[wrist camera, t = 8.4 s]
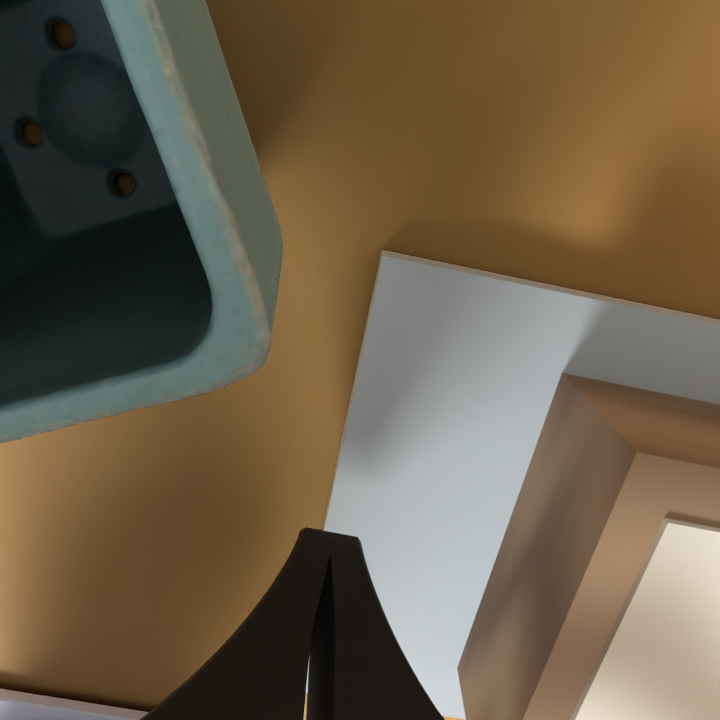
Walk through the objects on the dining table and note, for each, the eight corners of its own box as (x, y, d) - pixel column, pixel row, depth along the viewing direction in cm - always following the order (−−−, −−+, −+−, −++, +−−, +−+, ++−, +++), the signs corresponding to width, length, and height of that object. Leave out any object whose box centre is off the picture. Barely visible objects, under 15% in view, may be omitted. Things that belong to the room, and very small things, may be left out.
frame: (611, 694, 17) (683, 851, 13) (456, 668, 17) (483, 820, 13) (751, 411, 14) (903, 507, 10) (561, 372, 13) (640, 456, 10)
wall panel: (690, 729, 19) (771, 869, 15) (294, 663, 18) (273, 794, 14) (903, 357, 14) (1096, 425, 10) (382, 249, 14) (386, 281, 10)
